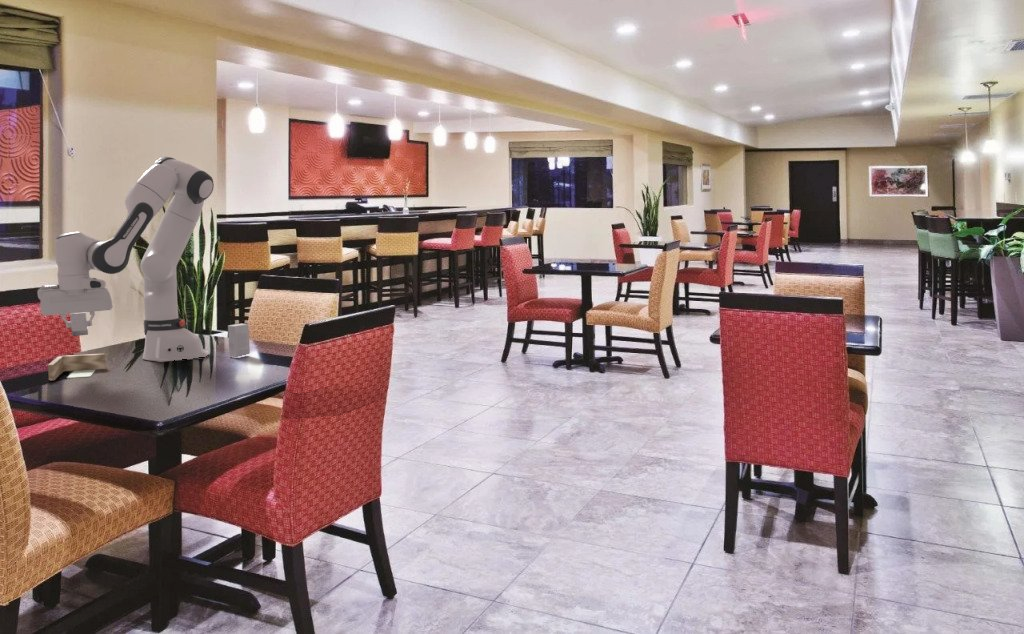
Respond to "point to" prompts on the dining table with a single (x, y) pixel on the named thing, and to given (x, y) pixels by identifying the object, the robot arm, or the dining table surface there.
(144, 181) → the robot arm
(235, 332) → the skincare box
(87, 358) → the tan bent bar
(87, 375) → the pad
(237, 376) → the dining table surface
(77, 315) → the bracket
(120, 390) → the dining table surface
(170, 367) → the dining table surface
